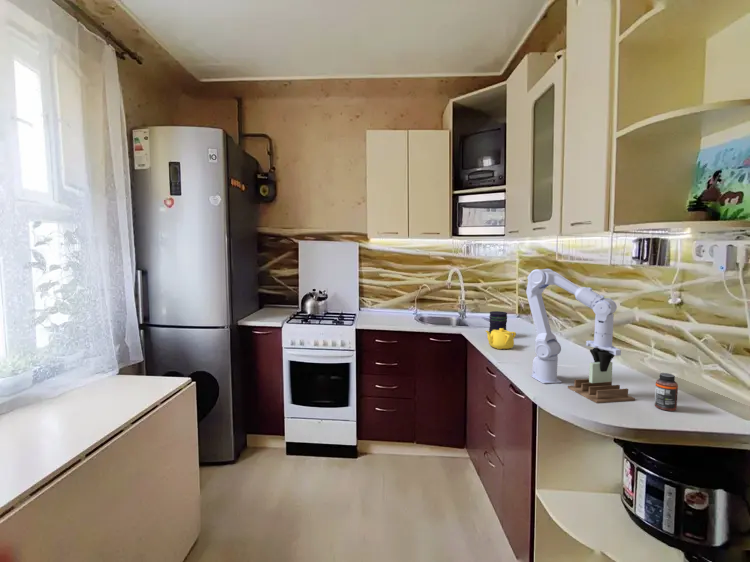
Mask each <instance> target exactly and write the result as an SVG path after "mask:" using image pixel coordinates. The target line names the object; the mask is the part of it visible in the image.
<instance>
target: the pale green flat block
mask: <svg viewBox="0 0 750 562" xmlns="http://www.w3.org/2000/svg"><path fill="white" fill-rule="evenodd" d="M588 366H589V369H588V370H589V373H588V374H589V375H588V379H589V382H590V383H601V382H612V383H613V362H612V361H611V362H610V364H609V366H608V369H607V371H605V372H602V371H600V362H594V361H593V362H589V365H588Z"/></svg>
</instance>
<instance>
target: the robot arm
mask: <svg viewBox="0 0 750 562" xmlns="http://www.w3.org/2000/svg"><path fill="white" fill-rule="evenodd" d="M526 278H527V285H526V291H525V293H526V296H527V301H528V304H529V305H528V306H529V309H530V312H531V317H532V320H533V323H534V328H535V331H536V337H535V340H534V343H535V348H534V352H535V354H536V356H535V357H534V358H533V360H532V369H531V370H532V373H531V375H529V376H530V377H532V378H533V379H535V380H536V381H539V382H540V383H542V384H556V383H557V384H559V383H560V384H561V383H562V382H563V381H562V380H560V379H559V378H558V376H557V375H558V360H559V358H558V356H559V354H560V353H561V351H562V346H561V344H560V343H559V341H558V339H557V336H556V335H555V334H554V333H553V332H552V329H551V326H550V321H549V317H548V314H547V311H546V307H545V303H544V299H543V295H542V294H543V292H544V291H545V289H546V288H547V287H549V286H550V285H551V286H553V285H555V286H557V287H560V288H561V289H563V290H565V291H567V292H569V293H571V294H572V295H574V296H575V297H574V298H575V300H576V301H578V302H579V303H581V304H582V305H584V306H586V307H588V308H589V309H591V310H592V311H593V313H594V314H595V317H594V334H593V340H591V339H589V340H586V341H585V347H591V348H592V349H589V353H590V354H591V356H592V358H593V362H600V371H602V372H605V371H607V369H608V366H609V364H610V362H612V360H613V359H614V357H615V356H616V357H617V356H621V354H622V350H621V349H619V348H617V347H616V346H614V345H613V335H614V313H616V311H617V308H618V307H617V303H616V302H615V301H614V300H613V299H612V298H609V297H607V298H605V297H606V296H605V295H603V294H598V293H597V292H596V291H594V290H593V288H592V287H587V286H584V287H582V286H581V287H579V286H578V285H577V284H575V283H573V282H572V281H570V280H569V279H567V278H566V277H564V276H563V275H561V274H560V273H558V272H557V271H554V270H552V269H551V268H542V269H538V268H537V269H533V270H531V272H530V273H529V274H528V275H527V277H526Z"/></svg>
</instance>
